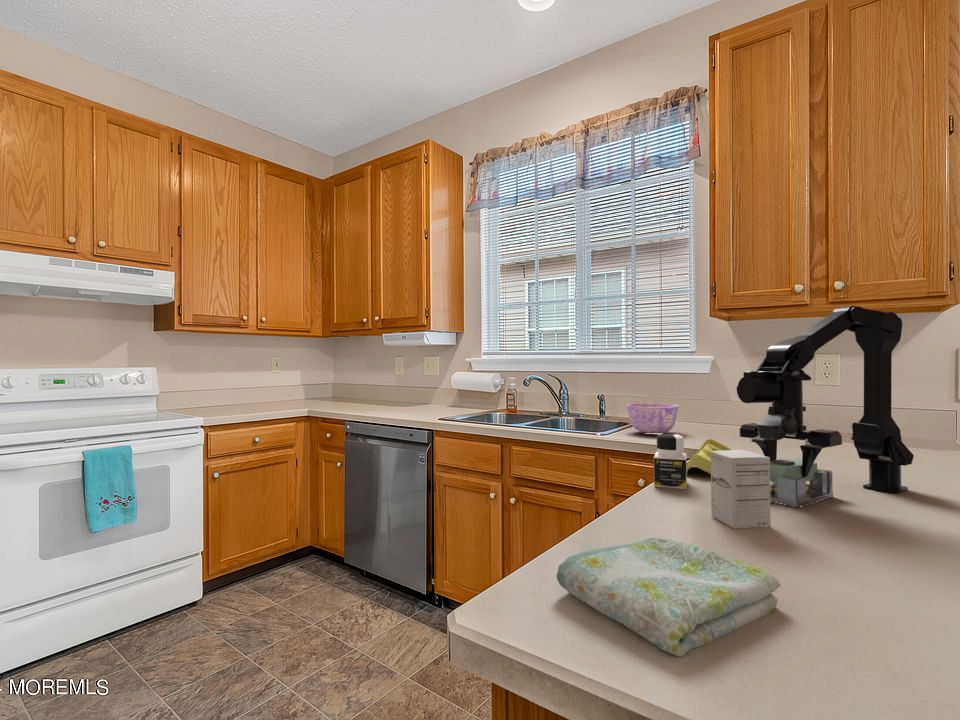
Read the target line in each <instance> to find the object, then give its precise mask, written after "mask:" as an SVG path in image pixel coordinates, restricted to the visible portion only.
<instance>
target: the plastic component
mask: <svg viewBox="0 0 960 720" xmlns="http://www.w3.org/2000/svg"><path fill="white" fill-rule="evenodd" d="M725 450H733V449H732V448H730V447H728V446H727V445H725V444H723V443H721V442H719V441H717V440H715V439H713V438H707V439H706V440H705V442H704V443H703V444H702V445H701V446H700V448H699V449H698V450H697V451H696V453H695V454H693V455H692V456H691V457H690V459H689V460H688V461H687V472H688V471H689V470H690V469H691V468H692V467H696V468H698V469H699V470H702V471H704V472H706V473H707V474H709V475H711V451H725Z"/></svg>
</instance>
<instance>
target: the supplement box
mask: <svg viewBox="0 0 960 720" xmlns="http://www.w3.org/2000/svg"><path fill="white" fill-rule="evenodd" d="M770 485H771V481H770V457H767V456H764V454H759V453H755V452H753V451H749V450H746V449H732V450H725V451H711V474H710V487H711V489H710V495H711V496H710V499H711V500H710V503H711V505H710V507H711V508H710V509H711V517H712V518H715V519H717V520H718V521H720V522H722V523H724V524H726V526H729V527H731V528H732V529H734V528H738V529H751V528H750V527H762V528H766V527H765V526H770V527H771V525H772V524H771V523H772V522H771V502H770Z"/></svg>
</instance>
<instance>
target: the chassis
mask: <svg viewBox="0 0 960 720" xmlns="http://www.w3.org/2000/svg"><path fill="white" fill-rule="evenodd" d="M777 479H778V483H776V482H772V484H770V501H771V502H770V503H772V502H777V503H782V504H786V505H790V506H794V507H793V508H795V507H800V506H803V507H805V506H804V505H806V506H808V505H807V504H809V505H811V504H810V503H812V504H814V503H813V502H815V503H817V502H816V501H819V500H822V499H825V498H828V499H830V498H829V497H831V498H833V497H834V492H833V491H834V490H833V488H834V487H833V470H828V469H818V468H817V472H816V480H811V481H809V484H808V483H807V481H806V478H805V477H796V478H789V477H784V476H778V477H777ZM825 500H826V499H825ZM822 501H823V500H822ZM819 502H820V501H819ZM790 506H789V507H790ZM800 508H801V507H800Z"/></svg>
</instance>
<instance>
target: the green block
mask: <svg viewBox="0 0 960 720" xmlns="http://www.w3.org/2000/svg"><path fill="white" fill-rule="evenodd" d="M817 469H818V463H817V462H814V463H813V465H812V467H811V469H810V471H809V473H808V475H807V477H805V478H806V482H810V481H811V480H816V472H817ZM778 476H784V477H789V478H796V477H803V476H802V459H801V460H800V459H796V458H785V459H776V460H774V461H770V482H772V483H773V482H776V483H778V479H777V477H778Z"/></svg>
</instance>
